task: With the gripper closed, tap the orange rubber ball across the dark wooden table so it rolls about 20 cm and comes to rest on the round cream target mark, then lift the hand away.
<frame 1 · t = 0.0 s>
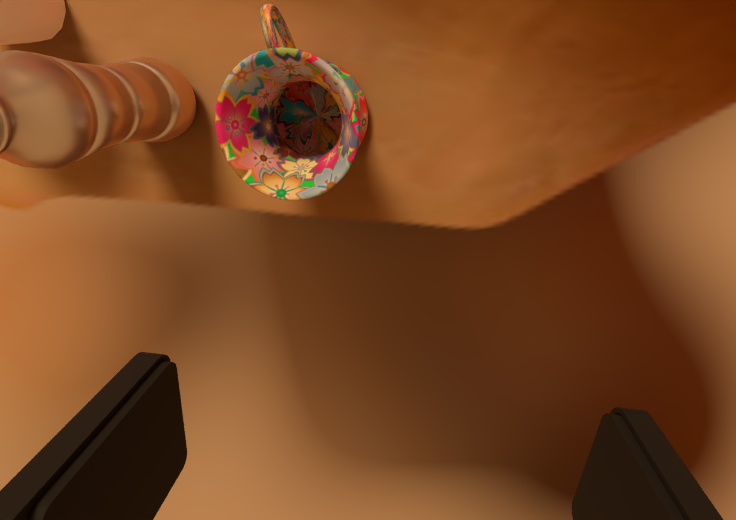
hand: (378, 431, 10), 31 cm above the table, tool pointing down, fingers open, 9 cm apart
mug: (316, 98, 37), on the table
plastic bottle: (168, 99, 38), on the table
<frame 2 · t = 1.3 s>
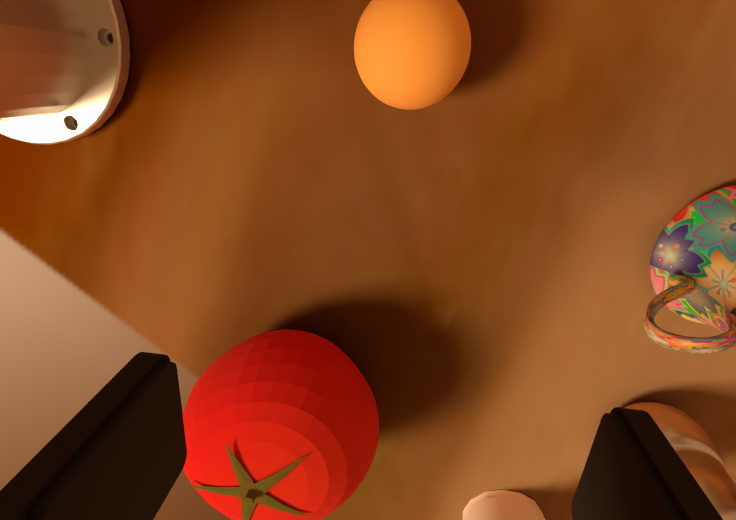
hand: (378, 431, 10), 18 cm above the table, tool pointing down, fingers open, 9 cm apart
mug: (694, 252, 26), on the table
plastic bottle: (636, 425, 31), on the table
foam cup: (501, 516, 36), on the table
tomato: (302, 372, 33), on the table
ball: (411, 48, 21), on the table
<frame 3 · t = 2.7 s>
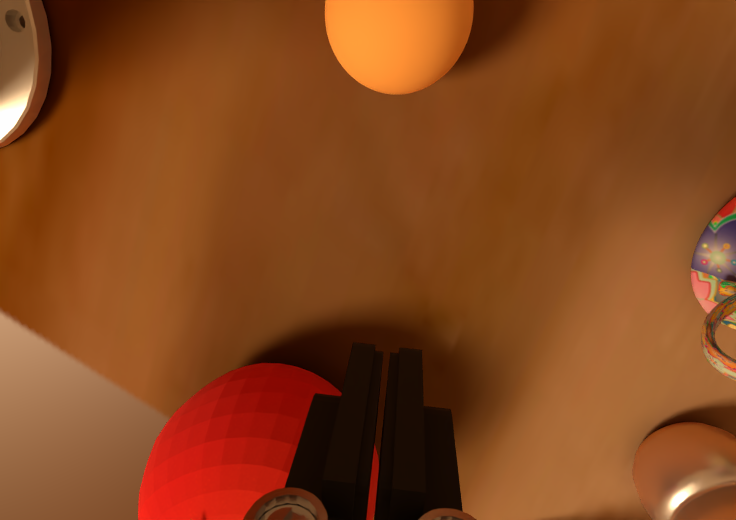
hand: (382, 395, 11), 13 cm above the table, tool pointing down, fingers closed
plastic bottle: (672, 447, 27), on the table
tomato: (288, 406, 28), on the table
ball: (398, 16, 17), on the table
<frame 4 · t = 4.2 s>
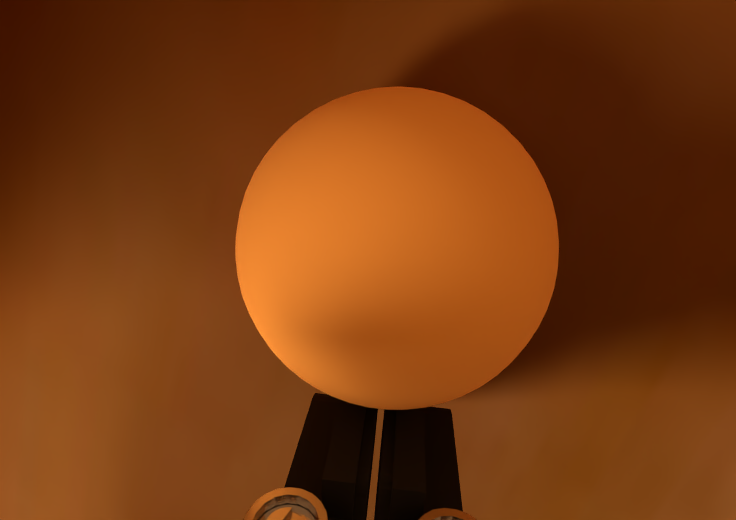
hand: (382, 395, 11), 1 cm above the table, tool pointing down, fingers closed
ball: (393, 249, 8), on the table
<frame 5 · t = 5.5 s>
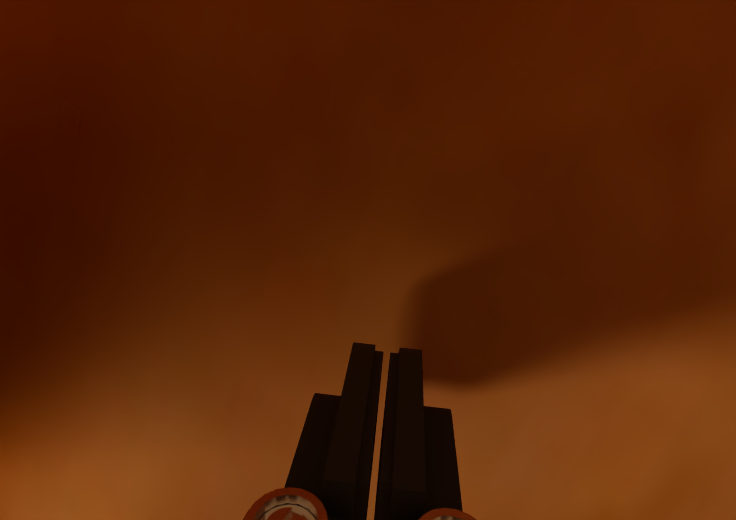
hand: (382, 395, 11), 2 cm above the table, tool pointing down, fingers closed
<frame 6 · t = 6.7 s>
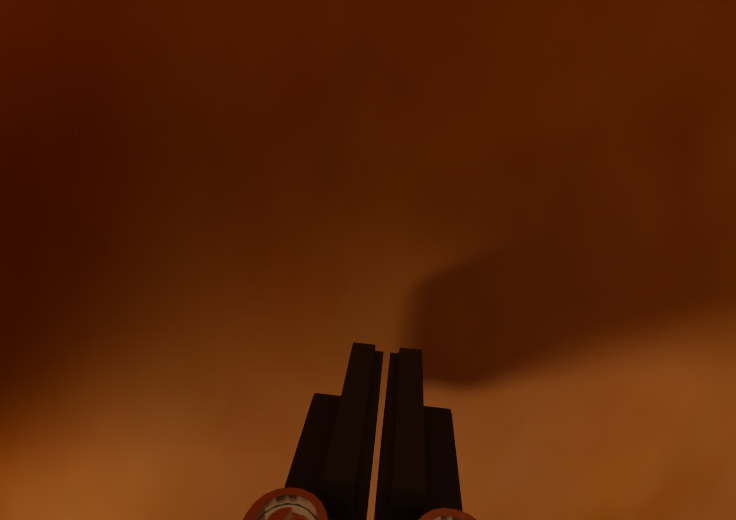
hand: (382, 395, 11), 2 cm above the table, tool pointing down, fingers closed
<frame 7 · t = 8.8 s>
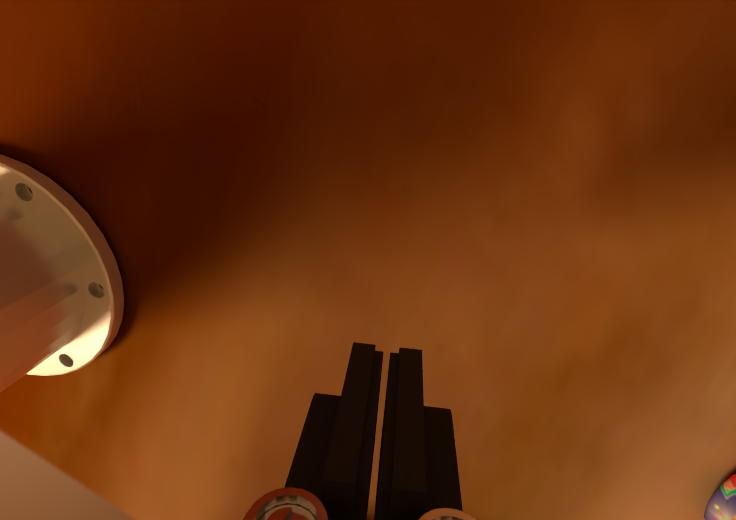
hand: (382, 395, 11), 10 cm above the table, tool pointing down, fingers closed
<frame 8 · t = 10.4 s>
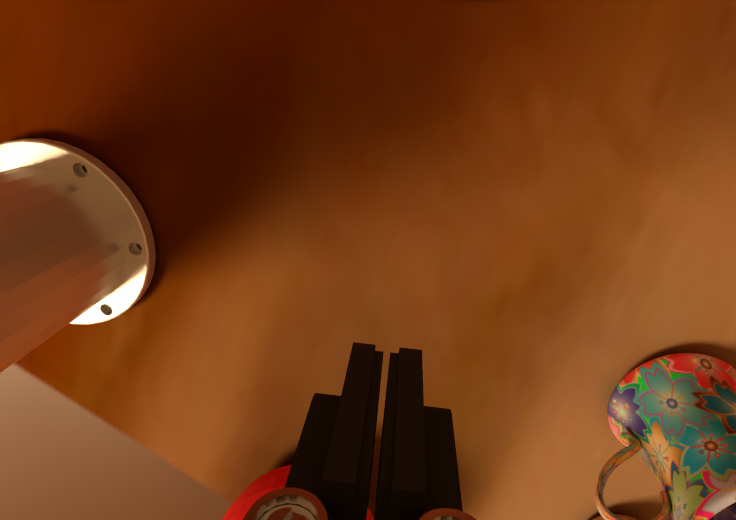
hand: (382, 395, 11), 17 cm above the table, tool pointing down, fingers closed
mug: (645, 398, 30), on the table
tomato: (312, 489, 37), on the table
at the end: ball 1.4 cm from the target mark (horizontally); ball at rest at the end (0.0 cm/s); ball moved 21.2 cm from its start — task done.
